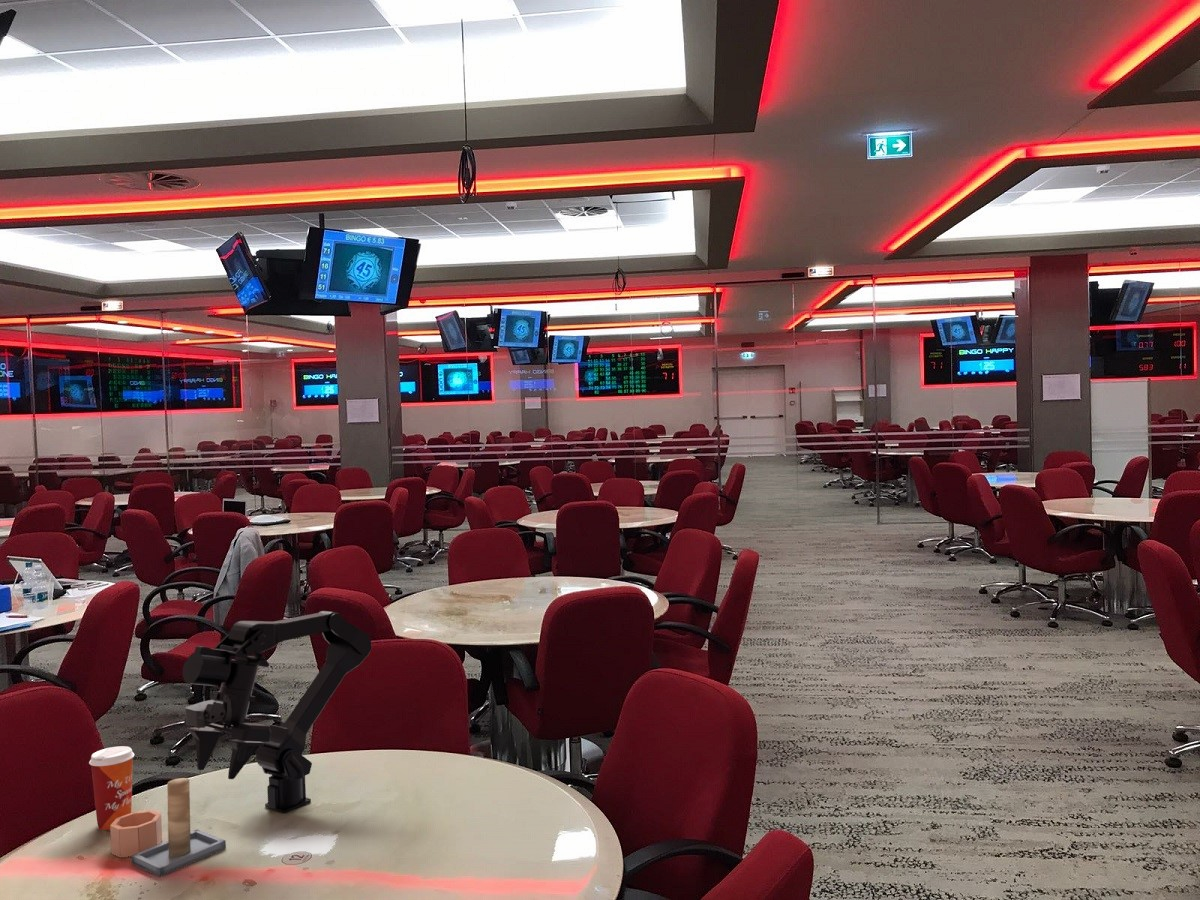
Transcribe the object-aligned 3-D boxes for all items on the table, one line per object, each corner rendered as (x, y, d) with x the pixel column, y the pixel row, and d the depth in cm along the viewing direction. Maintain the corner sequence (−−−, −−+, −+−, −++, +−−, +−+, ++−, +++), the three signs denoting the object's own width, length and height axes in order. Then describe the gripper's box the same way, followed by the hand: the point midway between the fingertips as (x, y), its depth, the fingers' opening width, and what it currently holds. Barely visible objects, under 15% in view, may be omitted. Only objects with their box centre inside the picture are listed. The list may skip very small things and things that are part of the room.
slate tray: (197, 837, 162) (197, 829, 162) (225, 848, 157) (225, 840, 157) (132, 864, 152) (131, 855, 152) (159, 877, 147) (159, 868, 147)
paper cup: (117, 834, 164) (114, 759, 164) (81, 832, 166) (79, 758, 166) (146, 816, 172) (143, 745, 172) (112, 814, 173) (110, 744, 173)
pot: (146, 834, 164) (145, 807, 164) (168, 843, 159) (167, 816, 159) (104, 850, 157) (103, 822, 157) (126, 860, 153) (125, 832, 153)
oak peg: (177, 847, 156) (176, 777, 156) (195, 848, 156) (193, 778, 155) (164, 856, 153) (162, 785, 153) (182, 858, 152) (180, 786, 152)
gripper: (169, 678, 165) (146, 765, 161) (231, 691, 155) (208, 784, 151) (220, 683, 174) (199, 765, 170) (281, 696, 164) (261, 783, 160)
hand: (215, 774), depth 163 cm, fingers open, 9 cm apart
